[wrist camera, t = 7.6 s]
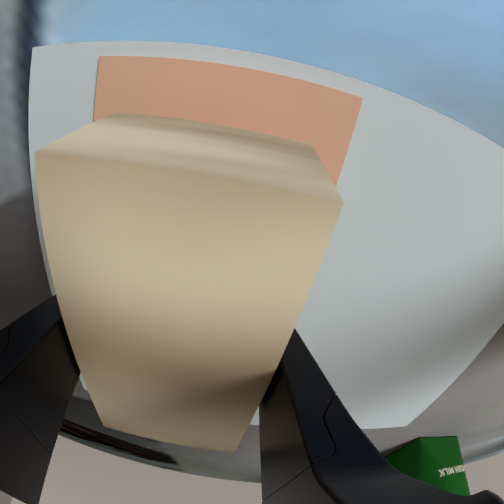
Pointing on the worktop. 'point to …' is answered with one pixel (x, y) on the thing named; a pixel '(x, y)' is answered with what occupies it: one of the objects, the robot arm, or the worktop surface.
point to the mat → (353, 210)
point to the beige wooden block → (181, 266)
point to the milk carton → (433, 463)
